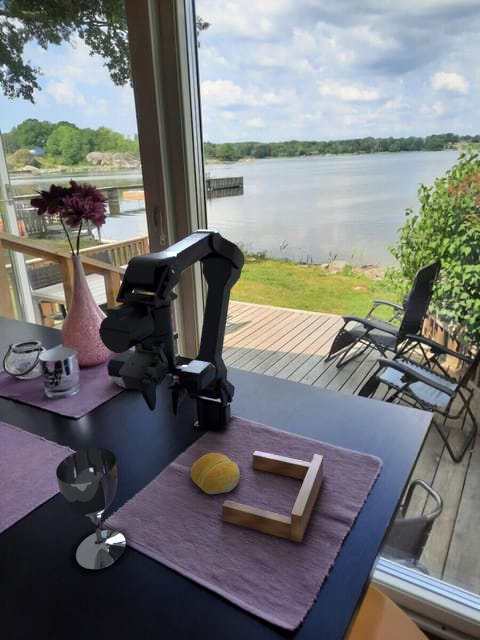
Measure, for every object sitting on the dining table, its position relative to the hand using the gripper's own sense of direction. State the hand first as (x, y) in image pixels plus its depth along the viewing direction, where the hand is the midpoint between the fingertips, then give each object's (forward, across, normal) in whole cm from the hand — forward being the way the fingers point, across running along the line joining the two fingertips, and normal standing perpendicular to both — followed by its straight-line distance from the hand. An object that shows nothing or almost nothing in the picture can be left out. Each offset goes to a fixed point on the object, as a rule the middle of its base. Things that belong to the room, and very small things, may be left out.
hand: (164, 412), depth 79 cm
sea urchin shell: (+12, -27, +29) cm, 41 cm away
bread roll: (+12, +10, 0) cm, 15 cm away
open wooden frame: (+12, +21, -1) cm, 24 cm away
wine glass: (+12, 0, -20) cm, 23 cm away
